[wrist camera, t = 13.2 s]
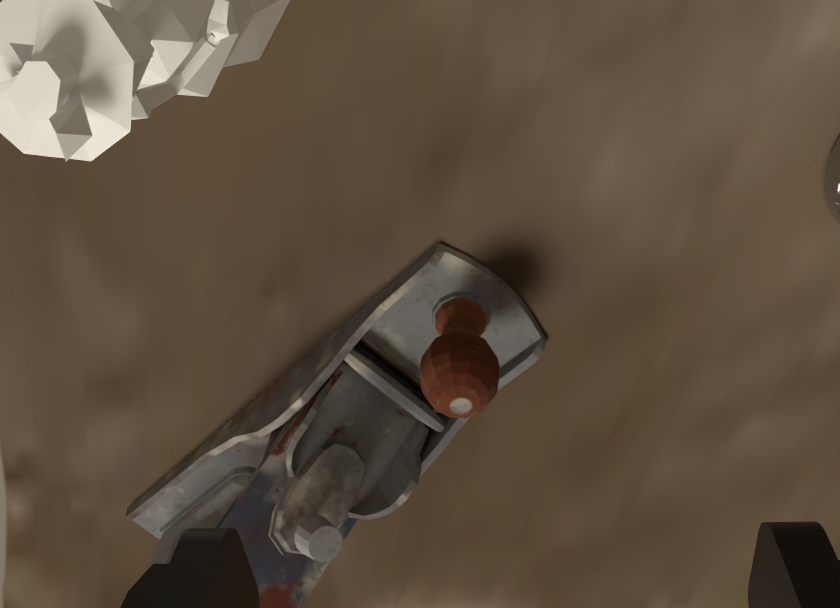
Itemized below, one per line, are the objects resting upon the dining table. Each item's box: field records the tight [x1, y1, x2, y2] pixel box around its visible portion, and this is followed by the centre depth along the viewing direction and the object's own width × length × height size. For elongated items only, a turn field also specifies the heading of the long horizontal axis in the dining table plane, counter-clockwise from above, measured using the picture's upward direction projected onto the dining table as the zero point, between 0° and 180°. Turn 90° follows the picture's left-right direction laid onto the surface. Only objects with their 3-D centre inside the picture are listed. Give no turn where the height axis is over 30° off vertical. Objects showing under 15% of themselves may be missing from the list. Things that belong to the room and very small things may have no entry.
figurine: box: [0, 0, 290, 161], centre depth 27 cm, size 7×8×18 cm
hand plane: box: [126, 243, 546, 608], centre depth 44 cm, size 9×33×15 cm, turn 136°
